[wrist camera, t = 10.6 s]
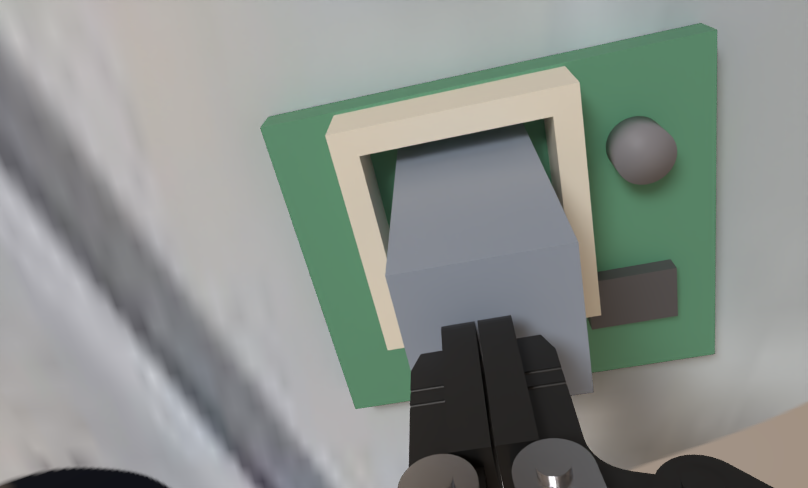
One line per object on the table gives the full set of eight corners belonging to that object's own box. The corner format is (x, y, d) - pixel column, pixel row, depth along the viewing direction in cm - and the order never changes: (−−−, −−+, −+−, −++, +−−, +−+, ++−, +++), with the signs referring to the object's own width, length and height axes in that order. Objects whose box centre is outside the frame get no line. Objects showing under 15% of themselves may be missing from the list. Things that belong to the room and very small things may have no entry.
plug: (522, 122, 20) (578, 242, 13) (540, 253, 22) (596, 417, 15) (397, 147, 20) (385, 275, 13) (427, 273, 22) (429, 441, 15)
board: (700, 22, 19) (748, 42, 17) (701, 334, 25) (738, 389, 22) (268, 116, 21) (244, 149, 18) (358, 389, 27) (350, 446, 24)
